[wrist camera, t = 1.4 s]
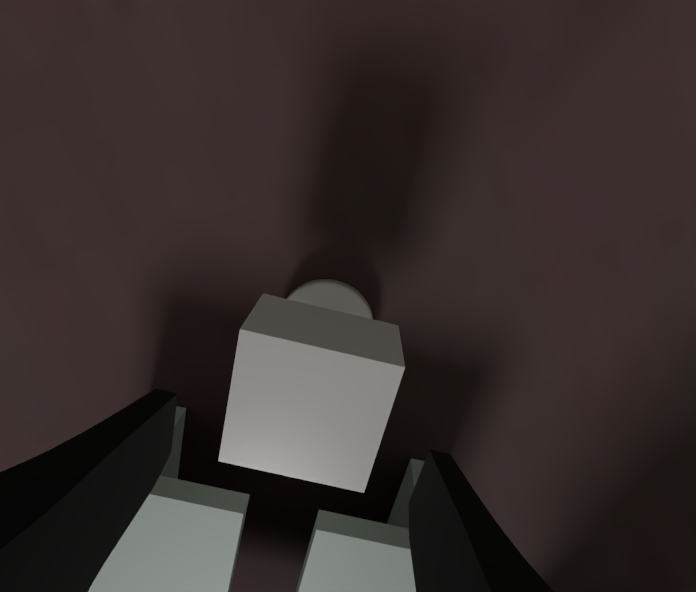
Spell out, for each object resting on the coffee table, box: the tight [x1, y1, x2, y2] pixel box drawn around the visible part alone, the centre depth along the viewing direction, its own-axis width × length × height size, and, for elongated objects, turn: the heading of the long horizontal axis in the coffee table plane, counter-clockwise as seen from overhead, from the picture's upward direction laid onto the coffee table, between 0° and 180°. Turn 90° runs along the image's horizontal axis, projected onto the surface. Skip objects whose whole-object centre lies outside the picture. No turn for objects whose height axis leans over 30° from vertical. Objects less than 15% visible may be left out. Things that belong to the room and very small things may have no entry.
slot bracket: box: [88, 406, 425, 592], centre depth 23 cm, size 16×14×6 cm
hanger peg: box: [218, 279, 405, 493], centre depth 17 cm, size 5×5×7 cm
